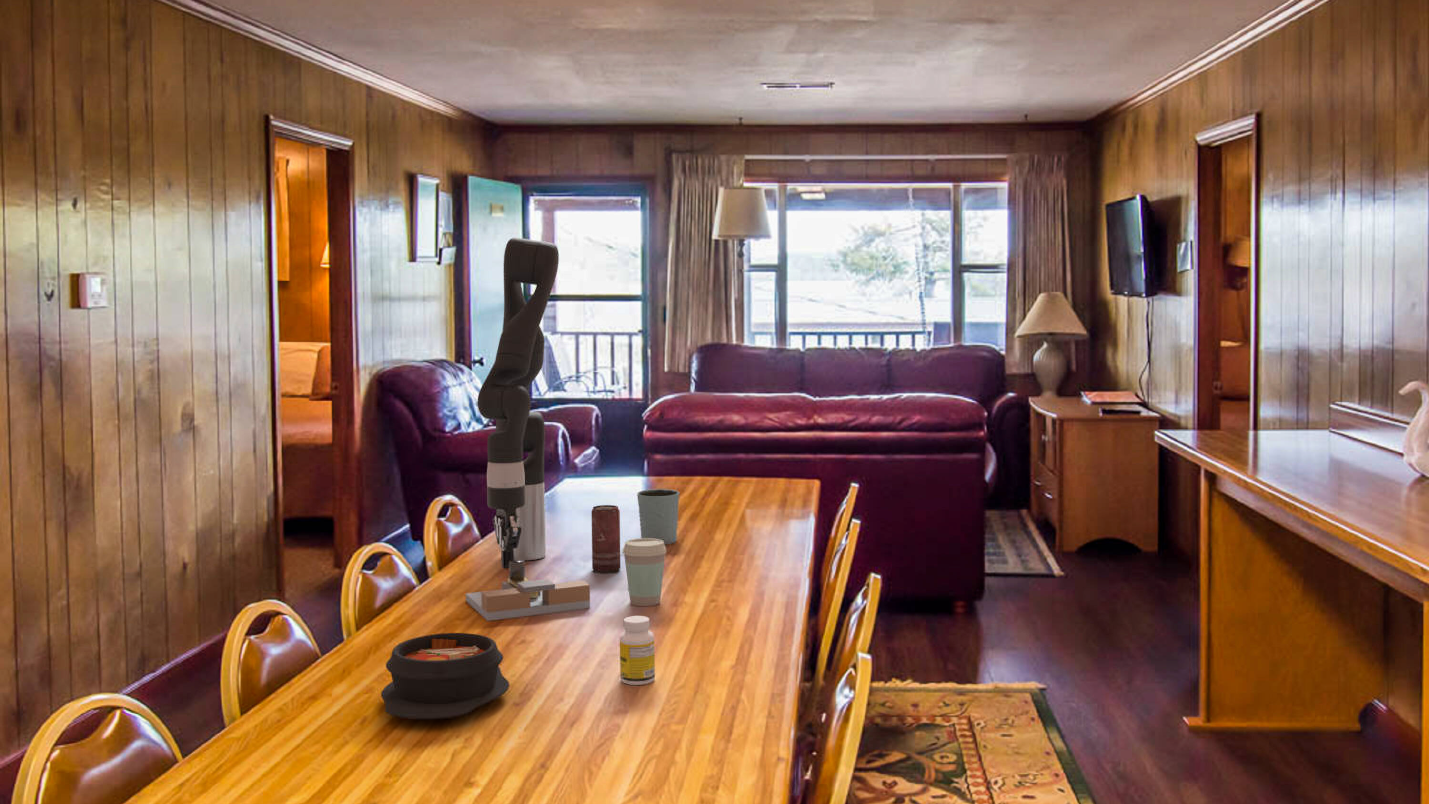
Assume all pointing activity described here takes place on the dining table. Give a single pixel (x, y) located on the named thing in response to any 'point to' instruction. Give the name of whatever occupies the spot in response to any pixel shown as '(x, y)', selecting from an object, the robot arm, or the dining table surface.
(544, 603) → the door plate
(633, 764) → the dining table surface
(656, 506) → the grey tapered cup
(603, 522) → the can
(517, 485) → the robot arm
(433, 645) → the casserole
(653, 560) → the coffee cup
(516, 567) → the bolt
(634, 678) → the supplement bottle
